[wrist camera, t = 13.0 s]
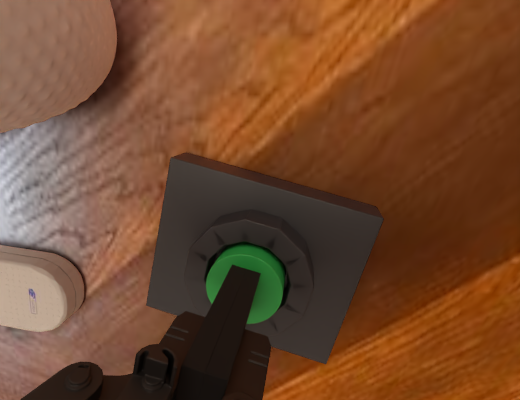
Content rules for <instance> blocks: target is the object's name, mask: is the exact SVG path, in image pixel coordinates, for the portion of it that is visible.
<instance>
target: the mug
mask: <svg viewBox="0 0 520 400" xmlns="http://www.w3.org/2000/svg"><path fill="white" fill-rule="evenodd" d="M116 46H117V31H116V24H115V18H114V13H113V10H112V6H111V2H110V0H0V133H3V132H7V131H9V130H12V129H16V128H25V127H27V126H30V125H32V124H34V123H38V122H43V121H46V120H47V119H49V118H51V117H53V116H57V115H61V114H63V113H65V112H66V111H68V110H69V109H72V108H75V107H77V106H78V104H79V103H81V102H83V101H85V100H87V99H88V98H89V96H90V95H91V94H92V93H94V92H95V91H96V90H97V89H98V87H99V86H100V85H101V84H102V83H103V81H104V80H105V78H106V77H107V75H108V74H109V72H110V69H111V67H112V65H113V62H114V58H115V53H116Z"/></svg>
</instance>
